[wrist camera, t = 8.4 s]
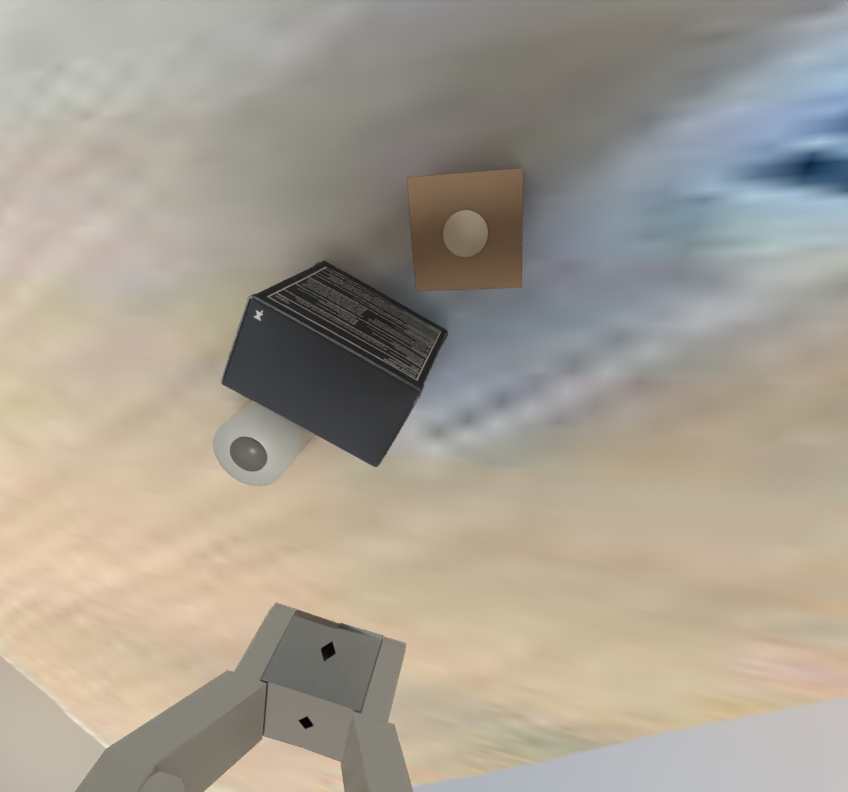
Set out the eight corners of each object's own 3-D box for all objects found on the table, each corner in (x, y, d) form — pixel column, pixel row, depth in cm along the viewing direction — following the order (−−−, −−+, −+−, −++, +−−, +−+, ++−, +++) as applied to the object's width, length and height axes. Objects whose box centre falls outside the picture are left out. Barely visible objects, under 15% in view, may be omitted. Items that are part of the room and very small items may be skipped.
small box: (291, 333, 37) (212, 386, 28) (321, 257, 34) (245, 287, 25) (411, 400, 37) (374, 475, 28) (451, 330, 35) (425, 387, 25)
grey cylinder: (255, 378, 39) (211, 411, 34) (320, 395, 39) (286, 431, 33) (253, 436, 42) (212, 476, 36) (314, 453, 41) (282, 495, 36)
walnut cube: (426, 177, 31) (406, 177, 25) (522, 169, 30) (522, 168, 24) (432, 272, 33) (415, 291, 28) (521, 268, 32) (521, 288, 26)
